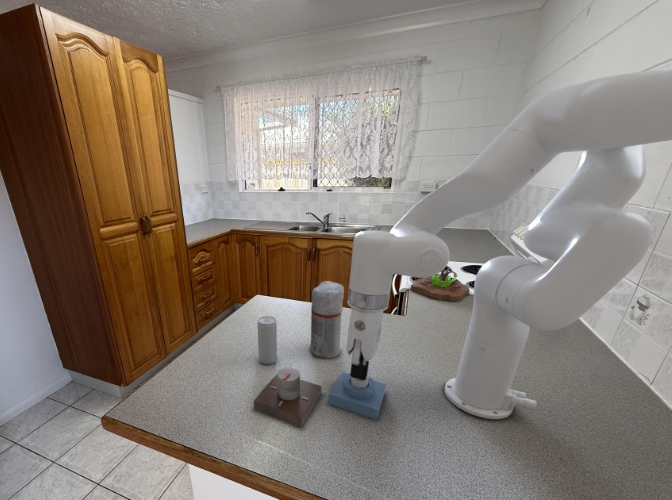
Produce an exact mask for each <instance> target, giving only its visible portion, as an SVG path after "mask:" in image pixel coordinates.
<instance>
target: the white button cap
mask: <svg viewBox="0 0 672 500" xmlns="http://www.w3.org/2000/svg"><path fill="white" fill-rule="evenodd" d="M368 376H369V375H367V377H366V379H365V380H361V379H357V378H354V377H351V385H352V386H353V387H355V388H359V389H365V388H366V387H367V386H368V379H369V378H368Z"/></svg>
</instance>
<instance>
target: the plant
mask: <svg viewBox="0 0 672 500" xmlns="http://www.w3.org/2000/svg"><path fill="white" fill-rule="evenodd" d="M449 274H453V278H452V279H451V277H452V276H451V275H449ZM457 278H458V273H456V272H455V271H453V268H450V267H449V268H447V269H446V270H445V268H444V269H443V270H442V271H441V272H440V273H438V274H436V275H434V276H431V277H424V278H417V279H414V280H413V283H411V285H410V291H412V292H415V293H418V294H420V295H422V296H426V297H429V298H431V299H436V300H438V301H449V302H459V301H461V300H462V299H463V298H464V297H465V296H469V294H470V291H471V289H470V287H469V286H468V285H467V284H465V283H461V282H458V280H457Z"/></svg>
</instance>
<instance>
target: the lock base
mask: <svg viewBox="0 0 672 500" xmlns="http://www.w3.org/2000/svg"><path fill="white" fill-rule="evenodd" d="M322 389H323V386H322V385H319V384H317V383H313V382H310V381H307V380H304V379H301V378H300V395H299V396H298V397H297V398H296V399H294V400H284V399H282V398H280V397H279V395H278V386H277V373H276V374H275V375H274V376H273V377H272V379H271V380H270V381H269V382H268V383H267V384H266V386H265V387H264V388H262V390H261V391H260V393H258V395H257V396H256V397H255V399H253V409H254V411H257V412H260V413H262V414H264V415H266V416H267V415H268V416H269V417H272V418H275V419H277V420H280V421H281V422H285V423H287V424H290V425H293V426H295V427H297V428H299V429H300V428H301V429H302V428H303V427H304V426H305V425H304V424H305V423H306V421H307V420H308V418H309V416H310V415H311V413H312V411H313V410H314V408H315V406H316V405H317V403H318V401H319V399H320V398H321V396H322Z"/></svg>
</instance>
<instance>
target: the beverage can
mask: <svg viewBox="0 0 672 500" xmlns="http://www.w3.org/2000/svg"><path fill="white" fill-rule="evenodd" d="M277 326H278V325H277V320H276V318H275V317H273V316H270V315H265V316H264V315H263V316H261V317H259V318H258V319H257V343H258V344H257V345H258V360H259V362H260V363H261V364H263V365H272V364H274V363H276V361H277V359H278V339H277V338H278V337H277V334H278V333H277Z"/></svg>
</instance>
